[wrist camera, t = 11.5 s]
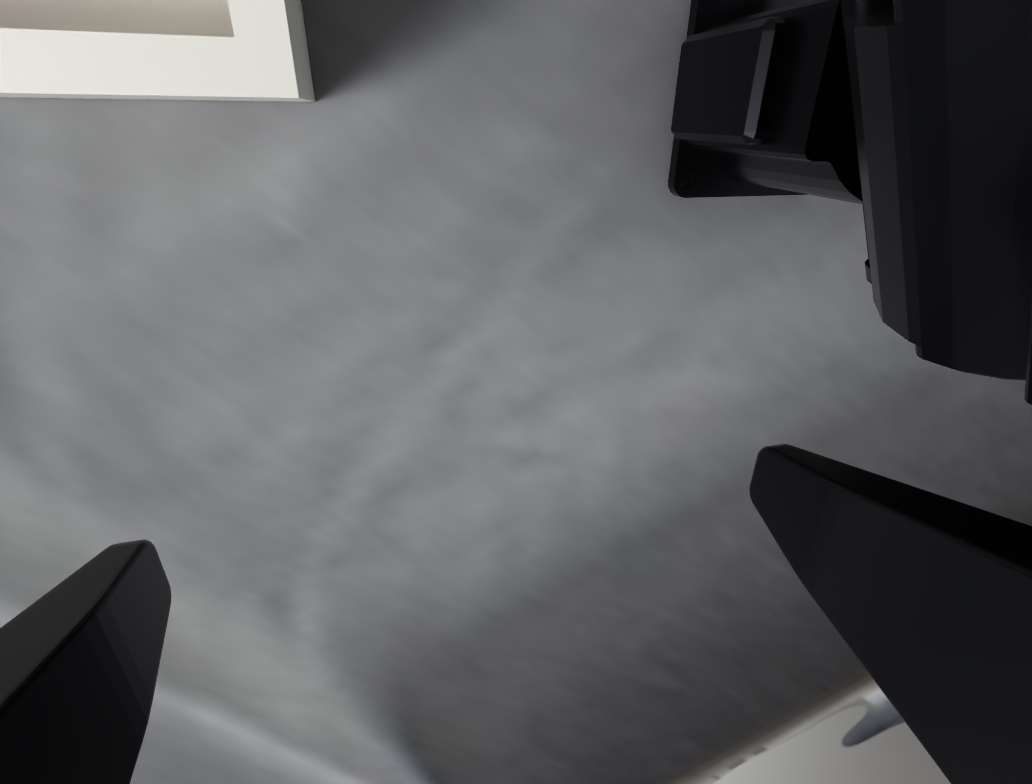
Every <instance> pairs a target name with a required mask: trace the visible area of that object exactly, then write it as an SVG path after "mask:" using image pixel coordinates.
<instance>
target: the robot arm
mask: <svg viewBox="0 0 1032 784" xmlns="http://www.w3.org/2000/svg"><path fill="white" fill-rule="evenodd" d="M671 131H672V133H673V135H674V140H673V148H672V156H671V164H670V171H669V179H668V187H669V189H670V192H671V193H672V194H674V195H676V196H680V197H684V198H692V197H729V196H767V195H805V194H810V195H815V196H821V197H826V198H832V199H837V200H843V201H848V202H854V203H859V204H863V212H864V221H865V231H866V240H867V249H868V258H869V259H867V260H866V262H865V268H866V277H867V280H868V281H869V282H870V283H871V284H872V290H873V299H874V303H875V305H876V307H877V309H878V312H879V314H880V316H881V319H882V321H883V322H884V323H885V324H886V325H888V326H889V327H890V328H892V329H893V330H894V331H896V332H897V333H898V334H900V335H901V336H903V337H904V338H905V339H907V340H908V341H909V342H912V343H914V344H915V350H916V354H917V356H919V357H920V358H922V359H924V360H927V361H930V362H933V363H936V364H939V365H942V366H945V367H948V368H951V369H955V370H958V371H961V372H966V373H972V374H978V375H983V376H989V377H995V378H1001V379H1013V380H1026V385H1025V401H1026V402H1027V403H1029V404H1031V405H1032V0H691V8H690V16H689V23H688V31H687V39H686V40H685V42H684V43H683V44H682V47H681V54H680V62H679V70H678V78H677V86H676V94H675V102H674V110H673V118H672V126H671ZM685 175H687V177H688V182H687V185H686V186H685V187H684V188H682V187H681V183H680V182H681V179H682V178H683V177H684V176H685ZM750 497H751V500H752V502H753V504H754V506H755V507H756V509H757V511H758V512H759V514H760V516H761V517H762V519H763V520H764V522H765V524H766V525H767V527H768V529H769V530H770V532H771V534H772V535H773V537H774V539H775V540H776V542H777V543H778V545H779V547H780V548H781V550H782V552H783V553H784V555H785V557H786V558H787V560H788V562H789V563H790V565H791V566H792V568H793V570H794V571H795V573H796V574H797V576H798V577H799V579H800V580H801V582H802V583H803V585H804V586H805V588H806V589H807V590H808V592H809V593H810V595H811V596H812V597H813V599H814V600H815V601H816V603H817V604H818V605H819V607H820V608H821V609H822V611H823V612H824V613H825V615H826V616H827V617H828V619H829V620H830V621H831V623H832V624H833V625H834V627H835V628H836V629H837V631H838V632H839V634H840V635H841V636H842V638H843V639H844V640H845V642H846V643H847V644H848V646H849V647H850V648H851V650H852V651H853V652H854V654H855V655H856V656H857V658H858V659H859V660H860V662H861V663H862V664H863V666H864V667H865V669H866V670H867V671H868V673H869V674H870V675H871V677H872V678H873V679H874V681H875V682H876V683H877V685H878V686H879V687H880V689H881V690H882V691H883V693H884V694H885V695H886V697H887V698H888V699H889V701H890V702H891V704H892V705H893V706H894V708H895V709H896V710H897V712H898V713H899V714H900V716H901V717H902V718H903V720H904V721H905V722H906V724H907V725H908V726H909V728H910V729H911V730H912V732H913V733H914V734H915V736H916V737H917V738H918V740H919V741H920V742H921V744H922V745H923V747H924V748H925V749H926V750H927V752H928V753H929V755H930V756H931V757H932V759H933V760H934V761H935V763H936V764H937V765H938V767H939V768H940V769H941V770H942V772H943V773H944V775H945V776H946V778H947V779H948V780H949V781H950V783H951V784H1032V526H1030V525H1027V524H1024V523H1021V522H1018V521H1015V520H1012V519H1009V518H1006V517H1003V516H1000V515H997V514H994V513H991V512H988V511H985V510H982V509H979V508H976V507H973V506H970V505H967V504H964V503H961V502H958V501H955V500H952V499H949V498H946V497H943V496H940V495H937V494H934V493H931V492H928V491H925V490H922V489H919V488H916V487H913V486H910V485H908V484H905V483H902V482H899V481H896V480H893V479H890V478H887V477H884V476H881V475H878V474H875V473H872V472H869V471H866V470H863V469H860V468H857V467H854V466H851V465H848V464H845V463H842V462H839V461H836V460H833V459H830V458H827V457H824V456H821V455H818V454H815V453H812V452H809V451H806V450H803V449H800V448H797V447H794V446H791V445H788V444H780V445H773V446H766V447H764V448H762V449H761V450H760V451H759V453H758V455H757V459H756V463H755V467H754V471H753V475H752V479H751V483H750ZM170 605H171V589H170V585H169V582H168V579H167V577H166V574H165V572H164V569H163V566H162V564H161V561H160V558H159V556H158V553H157V551H156V548H155V546H154V545H153V544H152V543H151V542H150V541H148V540H138V541H131V542H124V543H118V544H114V545H111V546H109V547H108V548H106V549H105V550H104V551H102V552H101V553H100V554H98V555H97V556H96V557H94V558H93V559H92V560H90V561H89V562H88V563H86V564H85V565H84V566H82V567H81V568H80V569H78V570H77V571H76V572H74V573H73V574H72V575H70V576H69V577H68V578H66V579H65V580H64V581H62V582H61V583H60V584H58V585H57V586H56V587H54V588H53V589H52V590H50V591H49V592H48V593H46V594H45V595H44V596H42V597H41V598H40V599H38V600H37V601H36V602H35V603H33V604H32V605H31V606H29V607H28V608H27V609H25V610H24V611H23V612H21V613H20V614H19V615H17V616H16V617H15V618H13V619H12V620H11V621H9V622H8V623H7V624H5V625H4V626H3V627H1V628H0V784H130V781H131V777H132V774H133V771H134V768H135V764H136V761H137V758H138V755H139V751H140V748H141V745H142V742H143V738H144V734H145V731H146V727H147V724H148V720H149V715H150V710H151V706H152V701H153V696H154V691H155V685H156V680H157V675H158V669H159V664H160V659H161V653H162V648H163V643H164V637H165V632H166V627H167V621H168V616H169V611H170Z"/></svg>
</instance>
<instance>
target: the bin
mask: <svg viewBox="0 0 1032 784" xmlns="http://www.w3.org/2000/svg"><path fill="white" fill-rule="evenodd" d="M0 97H16V98H80V99H145V100H210V101H275V102H315V97H314V90H313V82H312V75H311V68H310V61H309V54H308V46H307V39H306V32H305V25H304V18H303V10H302V3H301V0H0Z"/></svg>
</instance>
